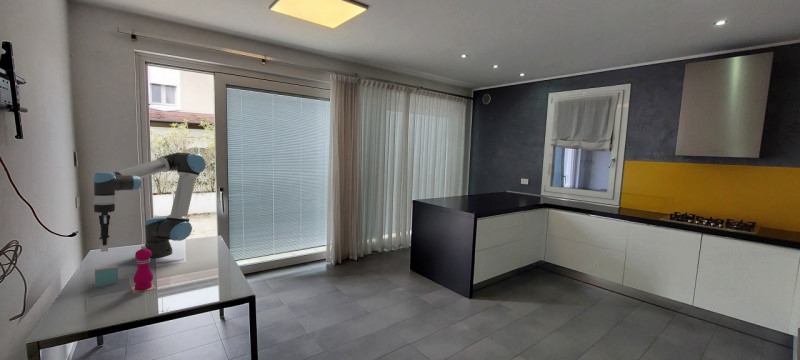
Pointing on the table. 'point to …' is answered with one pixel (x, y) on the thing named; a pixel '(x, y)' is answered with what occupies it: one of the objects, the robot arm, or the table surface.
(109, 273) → the tile
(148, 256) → the pepper mill
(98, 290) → the mat
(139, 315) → the table surface
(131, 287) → the cork pad
